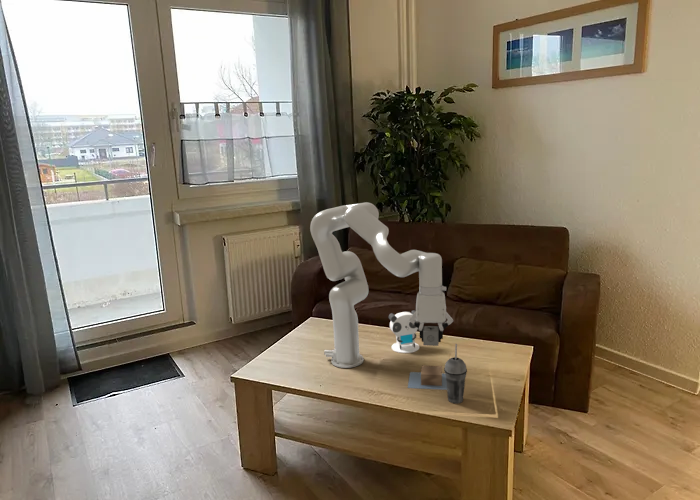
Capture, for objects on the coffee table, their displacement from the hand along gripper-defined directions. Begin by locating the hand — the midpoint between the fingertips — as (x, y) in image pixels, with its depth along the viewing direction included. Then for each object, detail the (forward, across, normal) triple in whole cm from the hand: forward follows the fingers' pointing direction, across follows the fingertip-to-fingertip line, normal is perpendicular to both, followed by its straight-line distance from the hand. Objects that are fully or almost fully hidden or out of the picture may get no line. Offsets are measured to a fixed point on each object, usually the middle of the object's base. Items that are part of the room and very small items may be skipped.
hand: (431, 339), depth 182 cm
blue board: (+16, 0, 0) cm, 16 cm away
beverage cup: (+17, -8, +13) cm, 22 cm away
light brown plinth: (+15, 0, 0) cm, 15 cm away
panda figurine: (+17, +12, -30) cm, 36 cm away
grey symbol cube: (+1, 0, +1) cm, 1 cm away
